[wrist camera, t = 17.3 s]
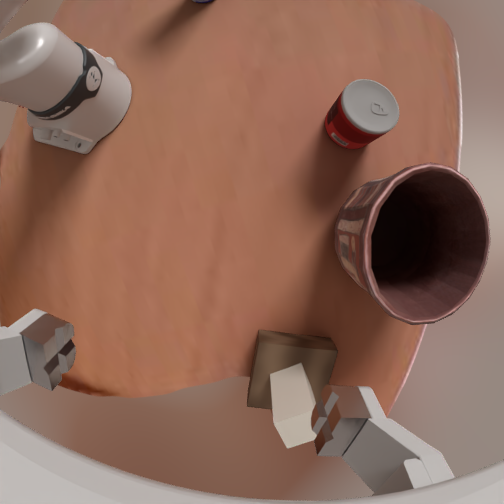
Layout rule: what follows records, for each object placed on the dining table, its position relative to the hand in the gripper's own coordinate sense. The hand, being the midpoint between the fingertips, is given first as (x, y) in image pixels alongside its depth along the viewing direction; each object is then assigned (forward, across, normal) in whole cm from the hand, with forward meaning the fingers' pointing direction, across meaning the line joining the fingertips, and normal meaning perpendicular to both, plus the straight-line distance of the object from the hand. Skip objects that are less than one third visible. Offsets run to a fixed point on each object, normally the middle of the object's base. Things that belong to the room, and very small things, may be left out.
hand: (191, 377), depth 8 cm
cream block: (+29, -13, +22) cm, 38 cm away
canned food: (+39, -13, -18) cm, 45 cm away
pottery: (+37, -21, -2) cm, 43 cm away
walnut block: (+34, -13, +22) cm, 43 cm away
